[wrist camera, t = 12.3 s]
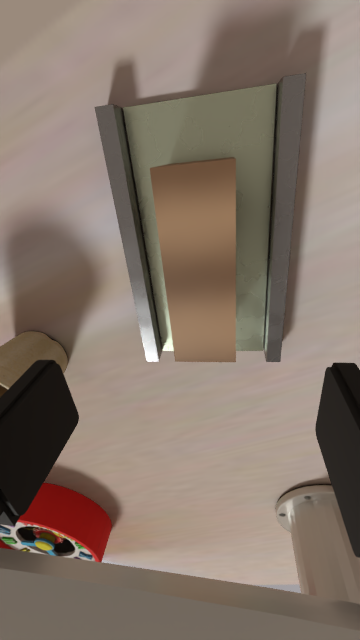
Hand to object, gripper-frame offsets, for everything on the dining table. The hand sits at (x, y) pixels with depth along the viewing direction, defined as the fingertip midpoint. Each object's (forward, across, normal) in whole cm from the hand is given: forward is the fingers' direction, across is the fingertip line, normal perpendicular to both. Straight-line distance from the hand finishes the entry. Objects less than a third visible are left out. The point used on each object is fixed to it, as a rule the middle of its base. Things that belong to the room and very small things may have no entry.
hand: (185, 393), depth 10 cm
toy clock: (+17, +30, +46) cm, 57 cm away
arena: (+16, 0, -1) cm, 16 cm away
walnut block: (+15, 0, -1) cm, 15 cm away
